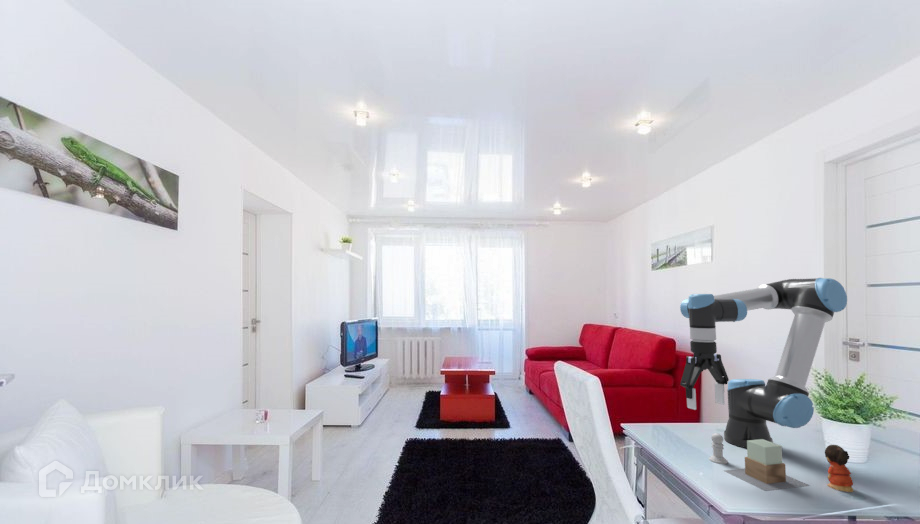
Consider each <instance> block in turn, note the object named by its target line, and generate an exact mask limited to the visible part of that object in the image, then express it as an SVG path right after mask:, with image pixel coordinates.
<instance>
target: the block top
mask: <svg viewBox="0 0 920 524" xmlns="http://www.w3.org/2000/svg"><path fill="white" fill-rule="evenodd" d="M746 450H747V451H746V452H747V453H746V454H747V456H746V457H748V458H750V459H752V460H755V461H757V462H759V463H762V464H764V465H772V464H782V463H783V450H782V445H781V444H777V443H774V442H773V443H772V442H769V441H767V440H764V439H759V440H747V448H746Z"/></svg>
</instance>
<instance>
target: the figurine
mask: <svg viewBox="0 0 920 524" xmlns="http://www.w3.org/2000/svg"><path fill="white" fill-rule="evenodd" d="M824 456H825V458H826V460H827V462H828V464H829V465H830V466H829V467H828V470H827V473H828V475H827V479H828V482H829V483H827V487H829V488H831V489H833V490H836V491H841V492H847V493H853V492H854V491H855V490H854V488H853V487H852V486H853V485H854V481H853V478H852V476H851V475H852V472H850V470H849V468H848V467H847V466H846V464H847V463H849V462H848V461H849V459H850V456H849V453H848V451H847V450H845V449H844V448H843V447H841V446H840V445H837V444H829V445H828V446H827V447H826V448H825V449H824Z"/></svg>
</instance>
